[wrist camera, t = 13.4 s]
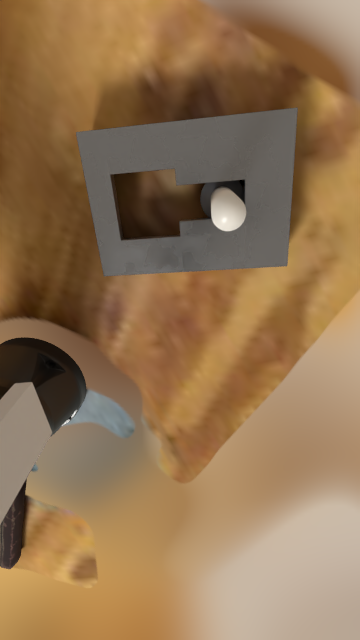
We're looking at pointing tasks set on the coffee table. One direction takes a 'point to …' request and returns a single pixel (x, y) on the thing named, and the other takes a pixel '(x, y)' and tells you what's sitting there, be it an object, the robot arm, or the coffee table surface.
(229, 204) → the peg
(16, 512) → the diary
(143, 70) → the coffee table surface
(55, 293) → the coffee table surface
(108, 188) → the keyhole plate
